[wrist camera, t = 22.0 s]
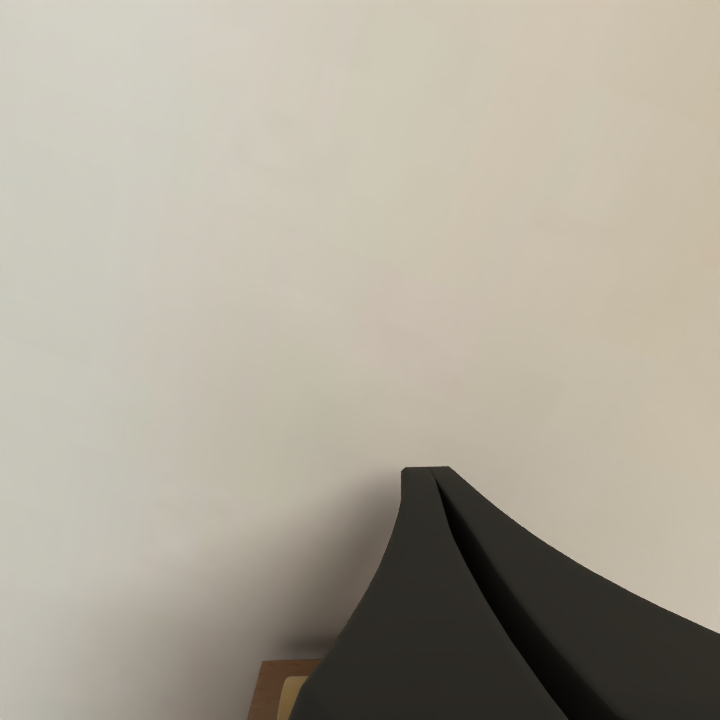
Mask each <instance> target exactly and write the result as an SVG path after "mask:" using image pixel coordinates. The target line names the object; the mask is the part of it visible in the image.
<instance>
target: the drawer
mask: <svg viewBox="0 0 720 720" xmlns="http://www.w3.org/2000/svg"><path fill="white" fill-rule="evenodd" d="M320 660H321V659H314V660H273V661H262V664H261V668H260V672H259V676H258V680H257V684H256V688H255V692H254V696H253V700H252V704H251V708H250V712H249V716H248V720H288V719H289V716H290V713H291V711H292V708H293V706H294V703H295V700H296V698H297V695H298V693H299V690H300V688H301V686H302V684H303V683H304V682H305V680H306V679H307V678H308V676H309V675H310V674H311V672H312V671H313V670H314V668H315V667H316V666H317V664H318V663H319V662H320Z"/></svg>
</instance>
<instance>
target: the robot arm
mask: <svg viewBox="0 0 720 720" xmlns="http://www.w3.org/2000/svg"><path fill="white" fill-rule="evenodd" d="M288 720H720V634H719V633H716V632H714V631H712V630H710V629H707V628H705V627H703V626H701V625H699V624H696V623H694V622H692V621H690V620H688V619H686V618H683V617H681V616H679V615H677V614H675V613H673V612H670V611H668V610H666V609H664V608H662V607H660V606H658V605H656V604H654V603H652V602H650V601H648V600H646V599H644V598H641V597H639V596H637V595H635V594H633V593H631V592H630V591H628V590H626V589H624V588H622V587H620V586H618V585H617V584H615V583H613V582H611V581H609V580H607V579H605V578H604V577H602V576H600V575H598V574H596V573H594V572H593V571H591V570H589V569H587V568H586V567H584V566H582V565H580V564H579V563H577V562H575V561H574V560H572V559H570V558H569V557H567V556H566V555H564V554H562V553H561V552H559V551H558V550H556V549H555V548H553V547H551V546H550V545H548V544H547V543H545V542H544V541H542V540H541V539H539V538H538V537H536V536H535V535H533V534H532V533H530V532H529V531H528V530H526V529H525V528H524V527H522V526H521V525H519V524H518V523H517V522H515V521H514V520H513V519H511V518H510V517H509V516H507V515H506V514H505V513H503V512H502V511H501V510H500V509H498V508H497V507H496V506H495V505H493V504H492V503H491V502H490V501H488V500H487V499H486V498H485V497H484V496H482V495H481V494H480V493H479V492H478V491H477V490H475V489H474V488H473V487H472V486H471V485H470V484H469V483H467V482H466V481H465V480H464V479H463V478H462V477H461V476H459V475H458V474H457V473H456V472H455V471H454V470H452V469H451V468H450V467H449V466H442V467H405V468H404V469H403V470H402V471H401V503H400V508H399V512H398V516H397V519H396V522H395V526H394V529H393V532H392V535H391V538H390V541H389V543H388V546H387V548H386V551H385V553H384V556H383V558H382V560H381V563H380V565H379V567H378V569H377V571H376V573H375V575H374V577H373V579H372V581H371V583H370V585H369V587H368V589H367V591H366V592H365V594H364V596H363V598H362V600H361V601H360V603H359V604H358V606H357V608H356V609H355V611H354V612H353V614H352V616H351V617H350V619H349V620H348V622H347V624H346V625H345V627H344V628H343V630H342V632H341V633H340V635H339V636H338V637H337V639H336V640H335V642H334V643H333V645H332V646H331V647H330V649H329V650H328V651H327V653H326V654H325V655H324V657H323V658H322V659H321V660H320V662H319V663H318V664H317V666H316V667H315V668H314V670H313V671H312V672H311V674H310V675H309V676H308V678H307V679H306V680H305V682H304V683H303V684H302V686H301V688H300V690H299V693H298V695H297V698H296V700H295V703H294V706H293V708H292V711H291V713H290V716H289V719H288Z"/></svg>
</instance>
